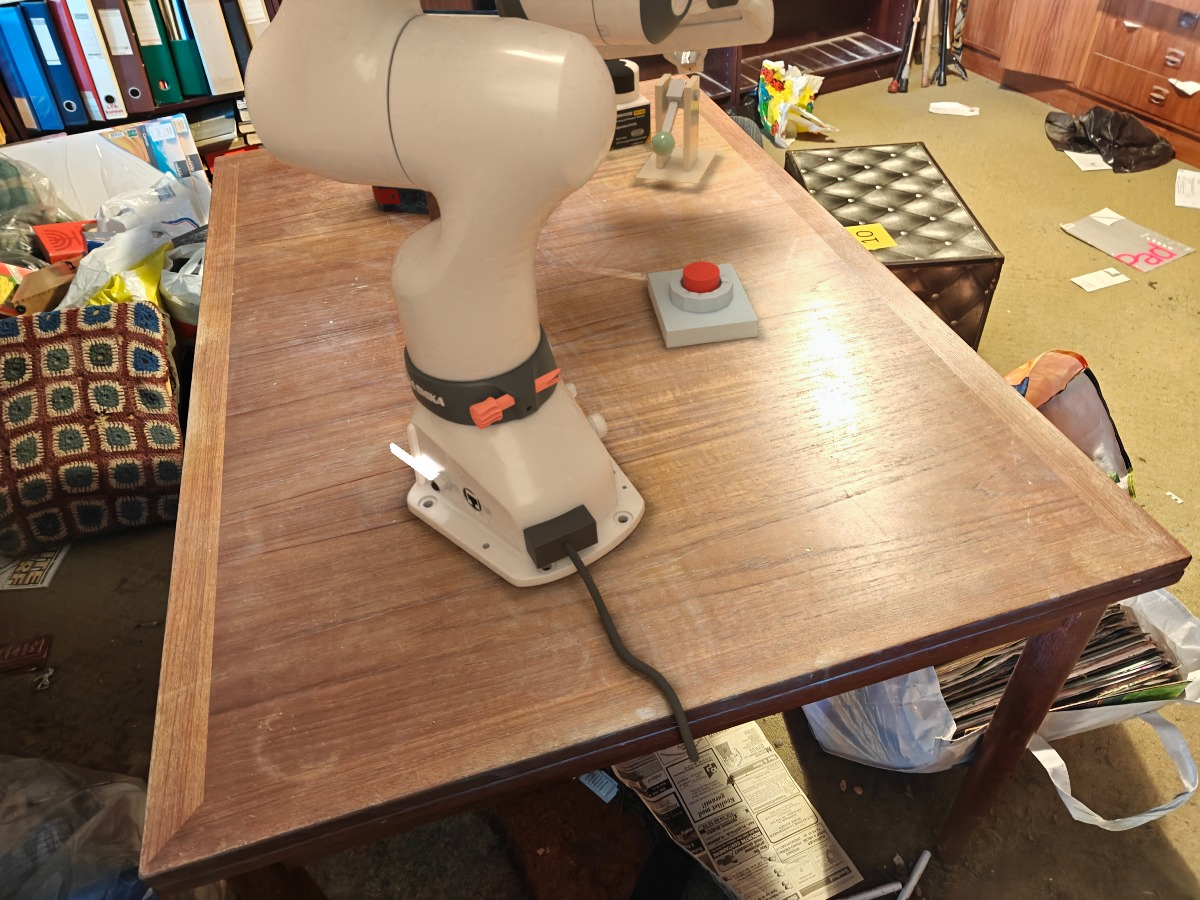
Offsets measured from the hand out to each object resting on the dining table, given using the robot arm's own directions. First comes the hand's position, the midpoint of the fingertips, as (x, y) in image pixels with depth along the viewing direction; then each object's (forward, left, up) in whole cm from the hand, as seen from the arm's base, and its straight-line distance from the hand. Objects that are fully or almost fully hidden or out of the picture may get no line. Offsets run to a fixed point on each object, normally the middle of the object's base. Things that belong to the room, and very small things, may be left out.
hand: (691, 68), depth 101 cm
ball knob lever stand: (+11, -7, -19) cm, 23 cm away
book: (+24, +22, -19) cm, 38 cm away
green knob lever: (+9, -5, -11) cm, 16 cm away
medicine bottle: (+24, -7, -19) cm, 31 cm away
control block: (-18, +15, -19) cm, 30 cm away
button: (-18, +15, -15) cm, 28 cm away
